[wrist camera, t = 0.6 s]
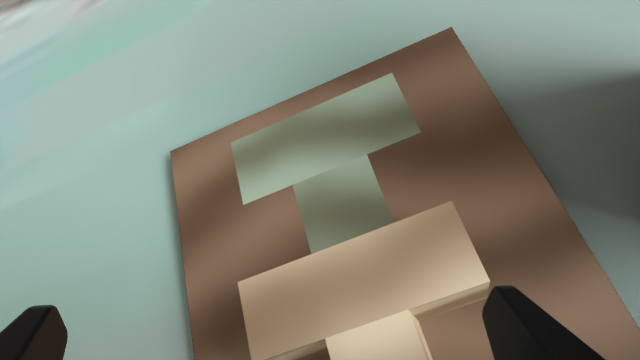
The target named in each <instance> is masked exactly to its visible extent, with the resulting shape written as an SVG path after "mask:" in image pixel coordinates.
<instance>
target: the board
mask: <svg viewBox="0 0 640 360" xmlns="http://www.w3.org/2000/svg"><path fill="white" fill-rule="evenodd" d="M170 153H171V161H172V170H173V178H174V187H175V196H176V204H177V213H178V222H179V230H180V239H181V247H182V256H183V265H184V273H185V282H186V290H187V299H188V308H189V316H190V325H191V333H192V342H193V351H194V359H195V360H251V355H250V349H249V343H248V338H247V332H246V327H245V321H244V315H243V310H242V304H241V299H240V293H239V287H238V282H240V281H242V280H245V279H247V278H250V277H253V276H255V275H258V274H261V273H263V272H266V271H268V270H271V269H274V268H276V267H279V266H282V265H284V264H287V263H290V262H292V261H295V260H297V259H300V258H303V257H305V256H308V255H311V254H313V253H316V252H318V251H321V250H324V249H326V248H329V247H332V246H334V245H337V244H340V243H342V242H345V241H347V240H350V239H353V238H355V237H358V236H361V235H363V234H366V233H368V232H371V231H374V230H376V229H379V228H382V227H384V226H387V225H390V224H392V223H395V222H397V221H400V220H403V219H405V218H408V217H411V216H413V215H416V214H418V213H421V212H424V211H426V210H429V209H432V208H434V207H437V206H439V205H442V204H445V203H447V202H450V201H452V203H453V205H454V207H455V209H456V211H457V213H458V215H459V217H460V219H461V221H462V223H463V225H464V227H465V230H466V232H467V234H468V236H469V238H470V240H471V242H472V244H473V246H474V248H475V250H476V252H477V255H478V257H479V259H480V261H481V263H482V265H483V267H484V269H485V271H486V273H487V275H488V277H489V280H490V284H489V289H488V293H487V297H486V299H483V300H480V301H477V302H474V303H471V304H468V305H465V306H462V307H459V308H456V309H454V310H451V311H448V312H445V313H442V314H439V315H436V316H433V317H430V318H427V319H424V320H421V321H419V324H420V326H421V329H422V332H423V334H424V337H425V340H426V342H427V345H428V348H429V350H430V353H431V356H432V358H433V360H494V357H493V354H492V350H491V347H490V343H489V340H488V336H487V333H486V329H485V326H484V322H483V319H482V309H483V306H484V304H485V302H486V300H487V298H488V296H489V294H490V292H491V290H492V288H493V287H495V286H502V285H511V286H514V287H516V288H517V289H518V290H520V291H521V292H522V293H523V294H525V295H526V296H527V297H528V298H530V299H531V300H532V301H533V302H535V303H536V304H537V305H538V306H540V307H541V308H542V309H543V310H545V311H546V312H547V313H548V314H549V315H551V316H552V317H553V318H554V319H556V320H557V321H558V322H559V323H561V324H562V325H563V326H564V327H566V328H567V329H568V330H569V331H571V332H572V333H573V334H574V335H576V336H577V337H578V338H579V339H581V340H582V341H583V342H584V343H586V344H587V345H588V346H589V347H591V348H592V349H593V350H594V351H596V352H597V353H598V354H599V355H601V356H602V357H603V358H604V359H606V360H640V329H639V327H638V326H637V324H636V322H635V321H634V319H633V318H632V316H631V314H630V313H629V311H628V309H627V308H626V306H625V305H624V303H623V301H622V300H621V298H620V297H619V295H618V293H617V292H616V290H615V289H614V287H613V285H612V284H611V282H610V281H609V279H608V277H607V276H606V274H605V273H604V271H603V269H602V268H601V266H600V265H599V263H598V261H597V260H596V258H595V257H594V255H593V253H592V252H591V250H590V249H589V247H588V245H587V244H586V242H585V241H584V239H583V237H582V236H581V234H580V232H579V231H578V229H577V228H576V226H575V224H574V223H573V221H572V220H571V218H570V216H569V215H568V213H567V212H566V210H565V208H564V207H563V205H562V204H561V202H560V200H559V199H558V197H557V196H556V194H555V192H554V191H553V189H552V188H551V186H550V184H549V183H548V181H547V180H546V178H545V176H544V175H543V173H542V172H541V170H540V168H539V167H538V165H537V164H536V162H535V160H534V159H533V157H532V155H531V154H530V152H529V151H528V149H527V147H526V146H525V144H524V143H523V141H522V139H521V138H520V136H519V135H518V133H517V131H516V130H515V128H514V127H513V125H512V123H511V122H510V120H509V119H508V117H507V115H506V114H505V112H504V111H503V109H502V107H501V106H500V104H499V103H498V101H497V99H496V98H495V96H494V95H493V93H492V91H491V90H490V88H489V86H488V85H487V83H486V82H485V80H484V78H483V77H482V75H481V74H480V72H479V70H478V69H477V67H476V66H475V64H474V62H473V61H472V59H471V58H470V56H469V54H468V53H467V51H466V50H465V48H464V46H463V45H462V43H461V42H460V40H459V38H458V37H457V35H456V34H455V32H454V30H453V29H452V27H451V28H448V29H446V30H444V31H441V32H439V33H437V34H435V35H432V36H430V37H428V38H426V39H423V40H421V41H419V42H417V43H414V44H412V45H410V46H408V47H405V48H403V49H401V50H399V51H396V52H394V53H392V54H389V55H387V56H385V57H383V58H380V59H378V60H376V61H374V62H371V63H369V64H367V65H365V66H362V67H360V68H358V69H356V70H353V71H351V72H349V73H346V74H344V75H342V76H340V77H337V78H335V79H333V80H331V81H328V82H326V83H324V84H322V85H319V86H317V87H315V88H313V89H310V90H308V91H306V92H304V93H301V94H299V95H297V96H294V97H292V98H290V99H288V100H285V101H283V102H281V103H279V104H276V105H274V106H272V107H270V108H267V109H265V110H263V111H261V112H258V113H256V114H254V115H251V116H249V117H247V118H245V119H242V120H240V121H238V122H236V123H233V124H231V125H229V126H227V127H224V128H222V129H220V130H218V131H215V132H213V133H211V134H209V135H206V136H204V137H202V138H199V139H197V140H195V141H193V142H190V143H188V144H186V145H184V146H181V147H179V148H177V149H175V150H172V151H170ZM307 360H331V359H330V355H329V352H327V353H325V354H322V355H319V356H316V357H313V358H310V359H307Z"/></svg>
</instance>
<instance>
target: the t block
mask: <svg viewBox="0 0 640 360" xmlns="http://www.w3.org/2000/svg"><path fill="white" fill-rule="evenodd" d="M489 284H490V280H489V277H488V275H487V273H486V271H485V269H484V267H483V265H482V263H481V261H480V259H479V257H478V255H477V252H476V250H475V248H474V246H473V244H472V242H471V240H470V238H469V236H468V234H467V232H466V230H465V227H464V225H463V223H462V221H461V219H460V217H459V215H458V213H457V211H456V209H455V207H454V205H453V203H452V201H450V202H447V203H445V204H442V205H439V206H437V207H434V208H432V209H429V210H426V211H424V212H421V213H418V214H416V215H413V216H411V217H408V218H405V219H403V220H400V221H397V222H395V223H392V224H390V225H387V226H384V227H382V228H379V229H376V230H374V231H371V232H368V233H366V234H363V235H361V236H358V237H355V238H353V239H350V240H347V241H345V242H342V243H340V244H337V245H334V246H332V247H329V248H326V249H324V250H321V251H318V252H316V253H313V254H311V255H308V256H305V257H303V258H300V259H297V260H295V261H292V262H290V263H287V264H284V265H282V266H279V267H276V268H274V269H271V270H268V271H266V272H263V273H261V274H258V275H255V276H253V277H250V278H247V279H245V280H242V281H240V282H238V287H239V293H240V299H241V304H242V310H243V315H244V321H245V327H246V332H247V338H248V343H249V349H250V355H251V360H307V359H310V358H313V357H316V356H319V355H322V354H325V353H327V352H329V355H330V359H331V360H433V358H432V356H431V353H430V350H429V348H428V345H427V342H426V340H425V337H424V334H423V332H422V329H421V326H420V324H419V321H421V320H424V319H427V318H430V317H433V316H436V315H439V314H442V313H445V312H448V311H451V310H454V309H456V308H459V307H462V306H465V305H468V304H471V303H474V302H477V301H480V300H483V299H486V297H487V293H488V289H489Z"/></svg>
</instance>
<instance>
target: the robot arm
mask: <svg viewBox="0 0 640 360" xmlns="http://www.w3.org/2000/svg"><path fill="white" fill-rule="evenodd" d="M482 319H483V322H484V326H485V329H486V333H487V336H488V340H489V343H490V347H491V350H492V354H493V357H494V360H606V359H604V358H603V357H602V356H601V355H599V354H598V353H597V352H596V351H594V350H593V349H592V348H591V347H589V346H588V345H587V344H586V343H584V342H583V341H582V340H581V339H579V338H578V337H577V336H576V335H574V334H573V333H572V332H571V331H569V330H568V329H567V328H566V327H564V326H563V325H562V324H561V323H559V322H558V321H557V320H556V319H554V318H553V317H552V316H551V315H549V314H548V313H547V312H546V311H545V310H543V309H542V308H541V307H540V306H538V305H537V304H536V303H535V302H533V301H532V300H531V299H530V298H528V297H527V296H526V295H525V294H523V293H522V292H521V291H520V290H518V289H517V288H516V287H514V286H511V285H502V286H495V287H493V288H492V290H491V292H490V294H489V296H488V298H487V300H486V302H485V304H484V306H483V309H482ZM67 337H68V336H67V329H66V327H65V325H64V322H63V320H62V318H61V316H60V314H59V311H58V309H57V308H56V307H55V306H53V305H40V306H32V307H30V308H28V309H26V310H25V311H24V312H23V313H22V314H21V315H19V316H18V317H17V318H16V319H15V320H14V321H13V322H12V323H10V324H9V325H8V326H7V327H6V328H5V329H4V330H3V331H2V332H0V360H63V356H64V352H65V348H66V344H67Z"/></svg>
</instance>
